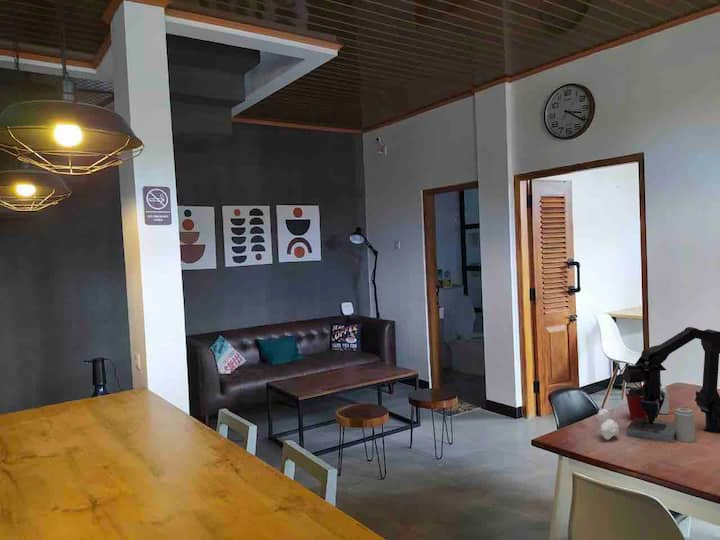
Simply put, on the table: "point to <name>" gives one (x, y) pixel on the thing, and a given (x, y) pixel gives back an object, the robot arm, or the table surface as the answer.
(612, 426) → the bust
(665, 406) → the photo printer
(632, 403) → the plastic cup
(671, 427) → the jig plate
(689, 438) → the beverage can
